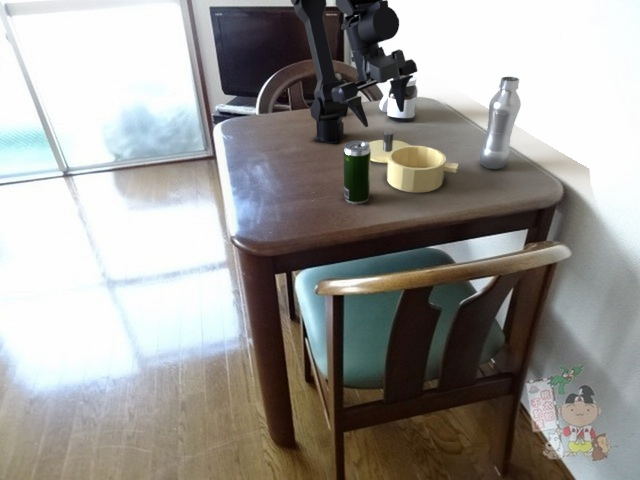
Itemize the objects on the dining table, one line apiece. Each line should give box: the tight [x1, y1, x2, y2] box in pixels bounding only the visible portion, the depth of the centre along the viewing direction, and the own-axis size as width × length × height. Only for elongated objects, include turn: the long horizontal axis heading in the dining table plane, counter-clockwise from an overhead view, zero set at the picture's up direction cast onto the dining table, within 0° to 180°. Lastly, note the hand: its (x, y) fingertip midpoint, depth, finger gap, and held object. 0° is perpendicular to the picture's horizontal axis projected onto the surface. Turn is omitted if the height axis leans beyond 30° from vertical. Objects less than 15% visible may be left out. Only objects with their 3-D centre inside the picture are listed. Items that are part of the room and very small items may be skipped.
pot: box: [376, 145, 459, 194], centre depth 97 cm, size 12×18×6 cm
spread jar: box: [378, 75, 419, 123], centre depth 129 cm, size 12×11×12 cm
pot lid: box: [368, 130, 412, 164], centre depth 108 cm, size 13×13×6 cm
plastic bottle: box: [478, 76, 522, 170], centre depth 96 cm, size 6×7×20 cm
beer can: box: [343, 140, 371, 205], centre depth 89 cm, size 5×5×12 cm
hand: (384, 119), depth 97 cm, fingers open, 9 cm apart
